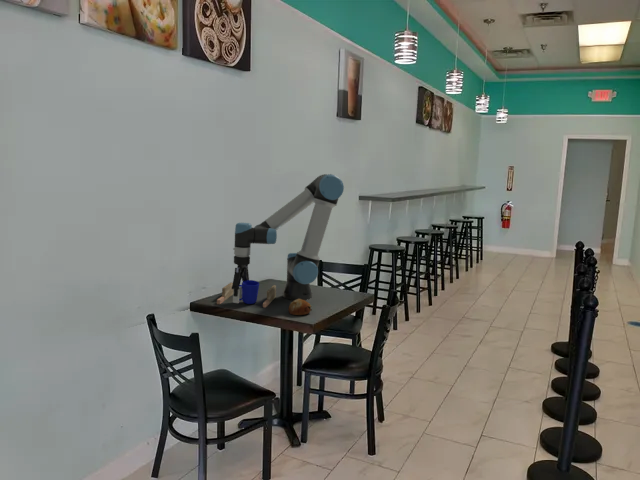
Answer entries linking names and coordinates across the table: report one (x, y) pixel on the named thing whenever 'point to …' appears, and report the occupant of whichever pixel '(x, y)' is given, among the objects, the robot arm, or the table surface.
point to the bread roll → (299, 307)
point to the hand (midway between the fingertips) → (240, 299)
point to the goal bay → (223, 300)
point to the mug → (249, 291)
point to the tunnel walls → (228, 291)
